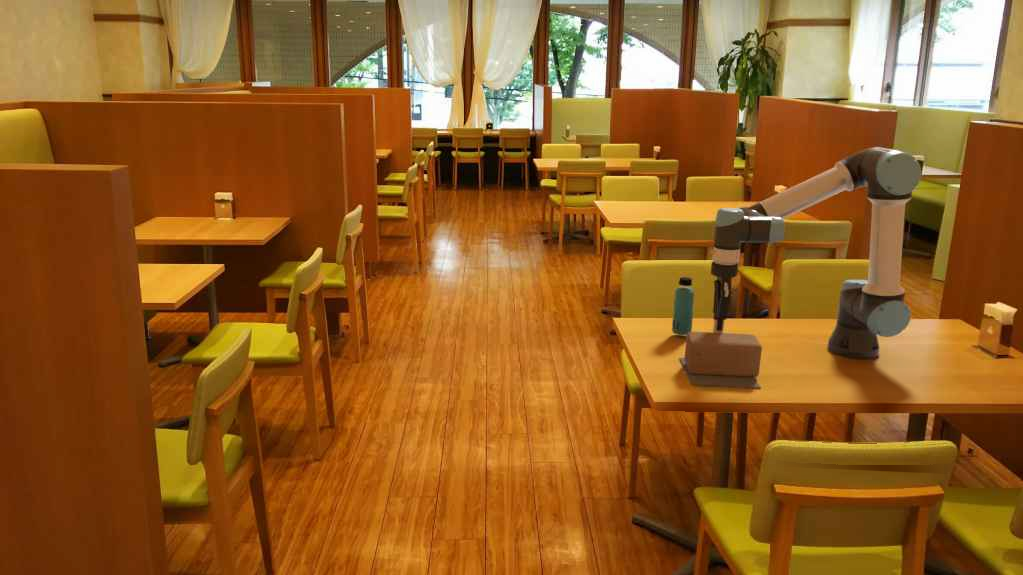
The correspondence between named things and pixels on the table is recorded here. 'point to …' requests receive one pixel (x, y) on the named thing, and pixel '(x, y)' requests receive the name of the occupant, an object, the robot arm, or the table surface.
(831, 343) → the robot arm
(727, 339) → the wooden block
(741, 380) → the mat
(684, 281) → the beverage bottle
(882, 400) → the table surface
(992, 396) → the table surface
